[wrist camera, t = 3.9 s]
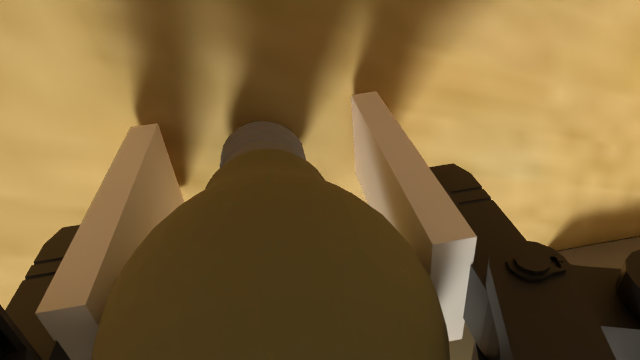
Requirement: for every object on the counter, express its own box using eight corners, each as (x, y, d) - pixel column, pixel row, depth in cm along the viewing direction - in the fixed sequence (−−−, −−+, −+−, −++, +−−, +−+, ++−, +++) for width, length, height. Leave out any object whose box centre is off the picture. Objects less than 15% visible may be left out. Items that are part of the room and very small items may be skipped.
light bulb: (334, 32, 12) (560, 360, 3) (364, 194, 15) (516, 571, 6) (134, 82, 12) (-149, 544, 3) (206, 234, 15) (156, 665, 6)
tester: (542, 254, 18) (585, 304, 15) (697, 226, 18) (761, 271, 16) (512, 366, 22) (542, 418, 20) (637, 341, 23) (680, 389, 20)
